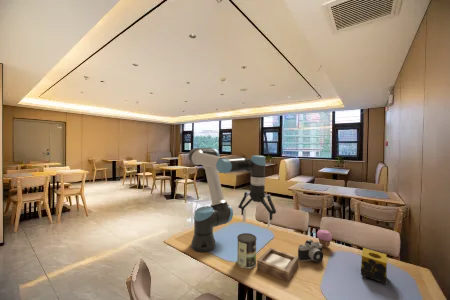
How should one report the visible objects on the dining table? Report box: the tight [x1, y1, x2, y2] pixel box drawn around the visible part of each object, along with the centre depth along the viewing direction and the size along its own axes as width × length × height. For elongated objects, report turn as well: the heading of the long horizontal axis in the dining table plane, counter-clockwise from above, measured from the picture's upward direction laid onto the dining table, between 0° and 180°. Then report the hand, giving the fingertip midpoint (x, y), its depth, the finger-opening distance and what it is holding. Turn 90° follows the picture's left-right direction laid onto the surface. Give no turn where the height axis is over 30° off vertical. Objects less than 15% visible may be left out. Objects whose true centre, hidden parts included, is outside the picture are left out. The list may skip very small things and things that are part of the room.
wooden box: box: [256, 247, 299, 283], centre depth 102 cm, size 16×16×4 cm
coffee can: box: [236, 232, 257, 269], centre depth 105 cm, size 10×10×14 cm
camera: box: [297, 239, 324, 263], centre depth 109 cm, size 16×9×10 cm, turn 106°
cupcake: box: [316, 229, 333, 248], centre depth 125 cm, size 9×9×10 cm
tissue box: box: [360, 247, 388, 284], centre depth 97 cm, size 10×10×10 cm
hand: (256, 223), depth 105 cm, fingers open, 13 cm apart
